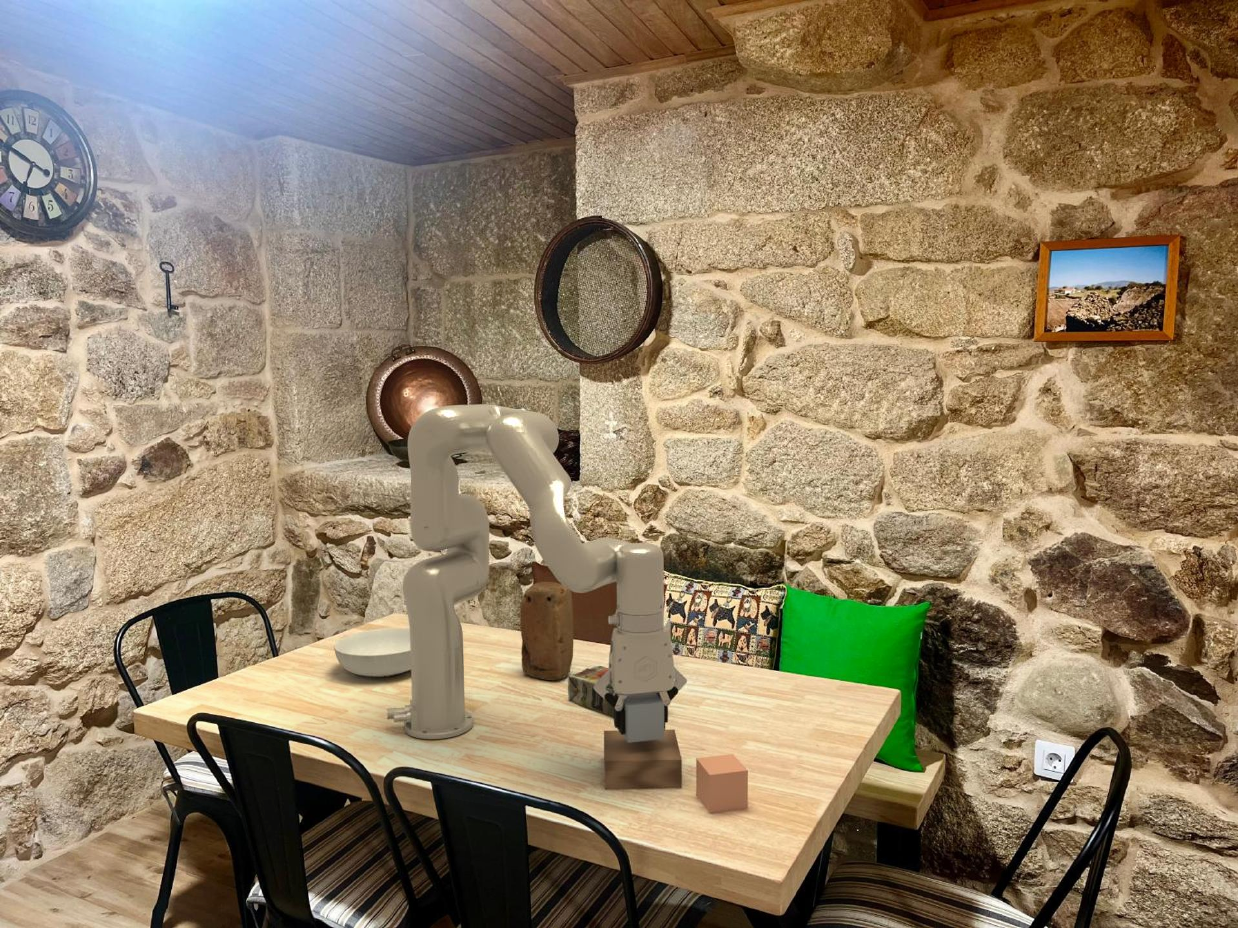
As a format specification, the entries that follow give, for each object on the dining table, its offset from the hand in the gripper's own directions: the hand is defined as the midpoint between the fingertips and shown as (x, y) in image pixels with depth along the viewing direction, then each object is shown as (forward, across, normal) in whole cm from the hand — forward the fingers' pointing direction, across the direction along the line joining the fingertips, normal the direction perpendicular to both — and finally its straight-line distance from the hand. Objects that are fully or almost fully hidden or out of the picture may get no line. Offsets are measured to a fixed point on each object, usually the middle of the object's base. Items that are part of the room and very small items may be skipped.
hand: (641, 728), depth 146 cm
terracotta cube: (+8, +9, -13) cm, 18 cm away
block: (+8, -7, +51) cm, 52 cm away
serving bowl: (+8, -41, +64) cm, 76 cm away
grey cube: (+1, 0, 0) cm, 1 cm away
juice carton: (+8, +3, +30) cm, 31 cm away
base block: (+8, 0, 0) cm, 8 cm away
